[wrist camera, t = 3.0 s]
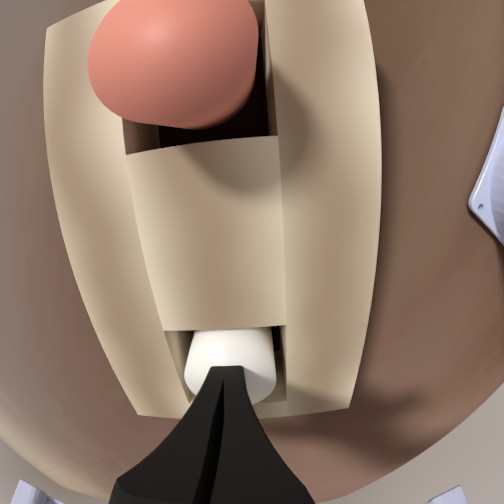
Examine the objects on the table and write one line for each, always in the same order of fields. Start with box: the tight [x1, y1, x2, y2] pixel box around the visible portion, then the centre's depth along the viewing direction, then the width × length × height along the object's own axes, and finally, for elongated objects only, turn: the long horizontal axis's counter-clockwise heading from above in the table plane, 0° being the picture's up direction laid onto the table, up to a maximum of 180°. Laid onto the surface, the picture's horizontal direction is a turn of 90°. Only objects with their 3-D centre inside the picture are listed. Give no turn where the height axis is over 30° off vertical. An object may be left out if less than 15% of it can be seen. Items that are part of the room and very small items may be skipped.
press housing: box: [44, 0, 382, 419], centre depth 12 cm, size 12×20×4 cm, turn 4°
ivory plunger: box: [184, 326, 276, 404], centre depth 14 cm, size 4×4×4 cm
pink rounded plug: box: [88, 0, 258, 130], centre depth 7 cm, size 4×4×4 cm
